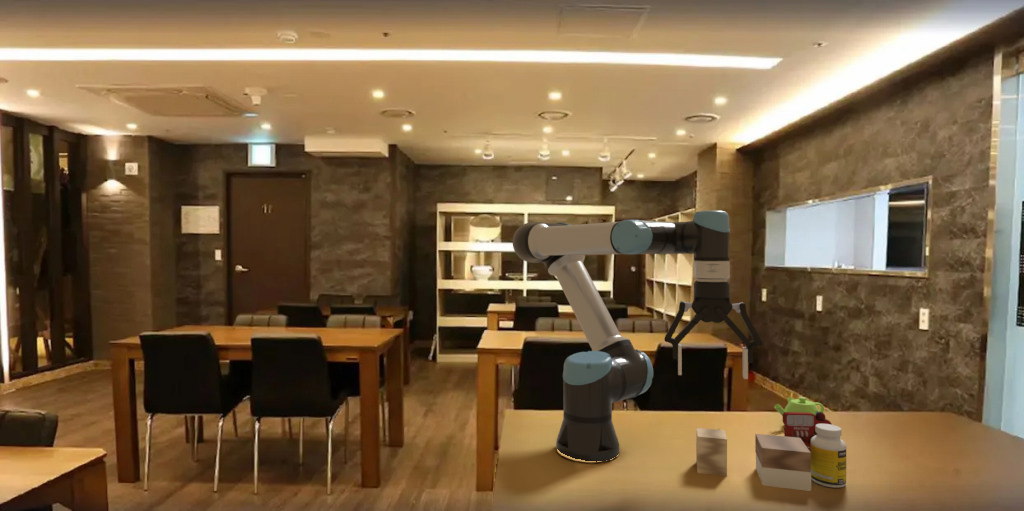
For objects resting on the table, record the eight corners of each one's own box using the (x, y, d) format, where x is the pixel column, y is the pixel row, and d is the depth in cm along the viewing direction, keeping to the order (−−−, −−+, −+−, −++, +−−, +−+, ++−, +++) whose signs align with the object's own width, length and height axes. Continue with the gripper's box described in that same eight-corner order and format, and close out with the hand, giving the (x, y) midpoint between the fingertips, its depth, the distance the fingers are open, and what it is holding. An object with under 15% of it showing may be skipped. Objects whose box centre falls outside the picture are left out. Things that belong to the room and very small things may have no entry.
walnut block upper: (762, 467, 109) (762, 447, 109) (755, 451, 117) (755, 433, 117) (810, 472, 106) (810, 452, 106) (800, 455, 115) (800, 437, 115)
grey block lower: (762, 486, 109) (762, 467, 109) (755, 469, 117) (755, 451, 117) (811, 492, 106) (811, 472, 106) (800, 474, 114) (800, 456, 114)
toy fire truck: (845, 462, 120) (846, 417, 120) (790, 461, 121) (790, 416, 121) (829, 451, 127) (829, 408, 127) (777, 450, 128) (777, 407, 128)
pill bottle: (834, 491, 106) (834, 434, 105) (803, 479, 111) (803, 424, 111) (853, 485, 109) (853, 429, 108) (822, 473, 114) (822, 420, 114)
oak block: (697, 472, 115) (697, 436, 115) (696, 462, 120) (696, 427, 120) (726, 476, 113) (727, 439, 113) (724, 465, 119) (724, 430, 119)
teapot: (832, 428, 143) (832, 397, 143) (818, 438, 136) (818, 406, 135) (788, 419, 152) (788, 390, 152) (773, 428, 144) (773, 397, 144)
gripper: (652, 280, 117) (653, 375, 117) (776, 281, 109) (777, 383, 109) (654, 279, 124) (654, 368, 124) (770, 280, 116) (770, 375, 116)
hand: (711, 375), depth 117 cm, fingers open, 13 cm apart
